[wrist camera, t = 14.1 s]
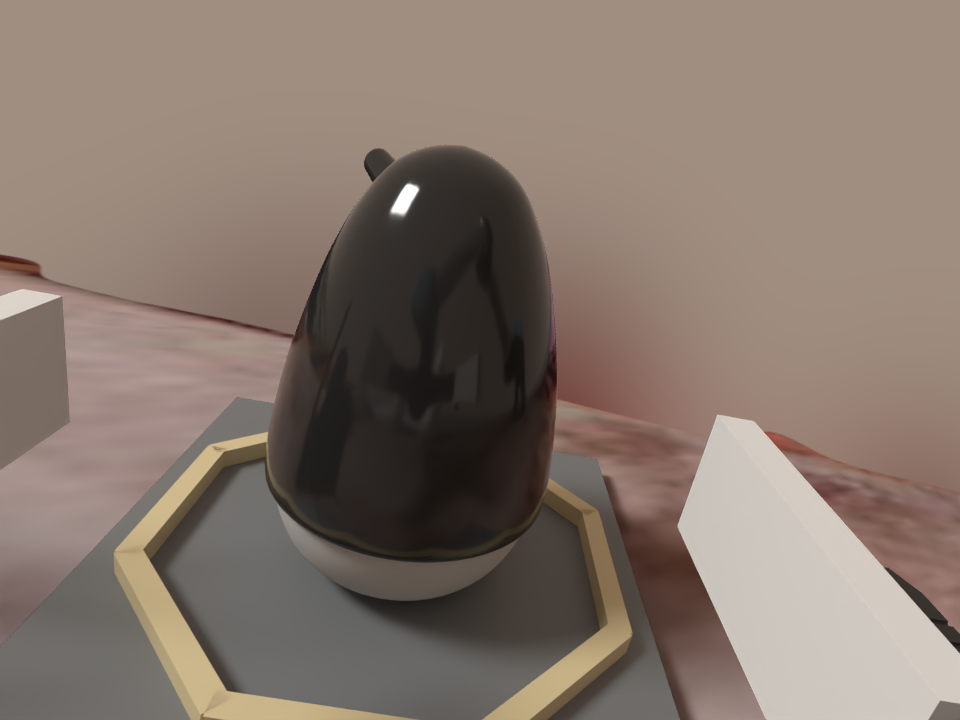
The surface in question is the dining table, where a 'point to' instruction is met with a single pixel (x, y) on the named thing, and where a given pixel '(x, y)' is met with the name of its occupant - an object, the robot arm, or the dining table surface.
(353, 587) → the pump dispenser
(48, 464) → the dining table surface
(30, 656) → the dock plate
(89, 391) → the dining table surface
